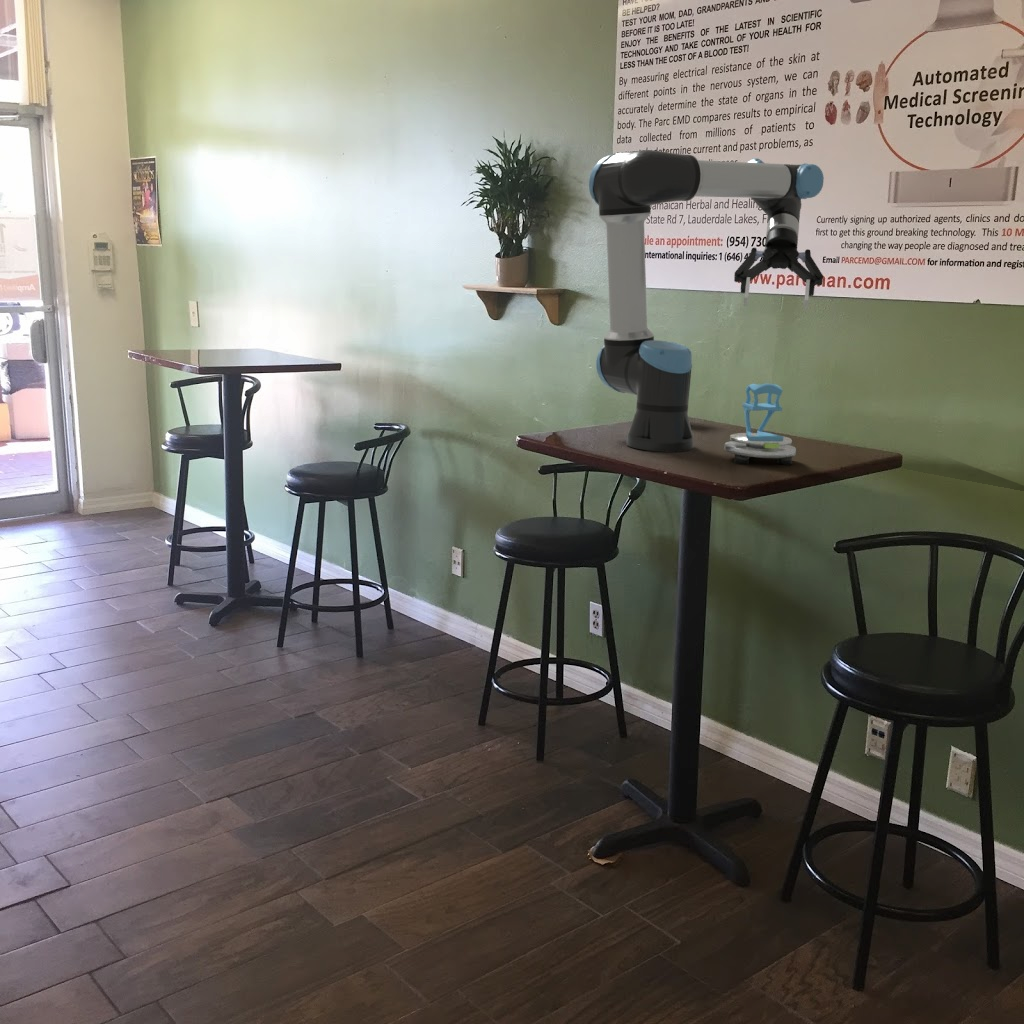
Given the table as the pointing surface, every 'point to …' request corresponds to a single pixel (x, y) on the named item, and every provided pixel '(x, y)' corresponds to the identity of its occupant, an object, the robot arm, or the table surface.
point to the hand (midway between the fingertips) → (775, 303)
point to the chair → (762, 406)
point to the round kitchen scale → (759, 449)
